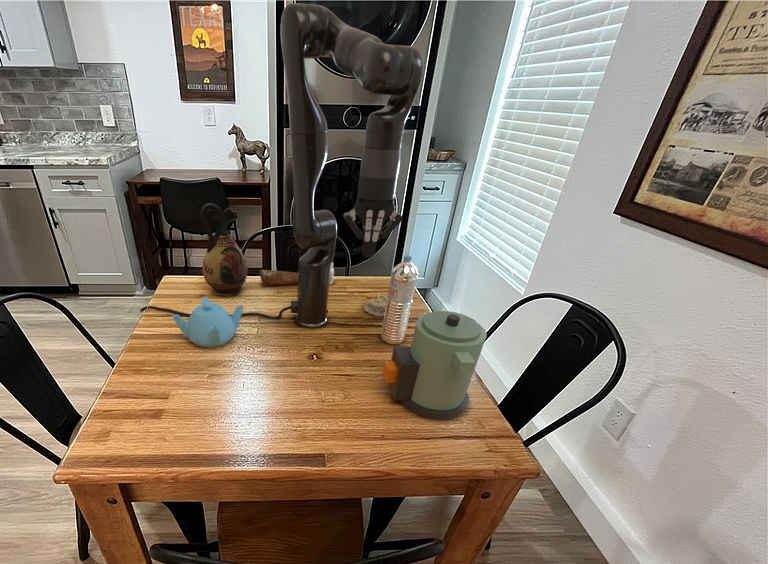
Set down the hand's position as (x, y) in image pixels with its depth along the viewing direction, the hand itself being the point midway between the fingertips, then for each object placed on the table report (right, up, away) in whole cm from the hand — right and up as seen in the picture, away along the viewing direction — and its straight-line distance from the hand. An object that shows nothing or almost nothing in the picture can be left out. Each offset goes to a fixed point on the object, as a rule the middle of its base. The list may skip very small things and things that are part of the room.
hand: (367, 256), depth 87 cm
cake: (+12, -7, +42) cm, 44 cm away
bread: (-19, +5, +58) cm, 61 cm away
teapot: (-40, -17, +26) cm, 51 cm away
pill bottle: (-3, +6, +59) cm, 60 cm away
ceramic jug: (-41, +1, +52) cm, 66 cm away
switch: (+5, -28, +1) cm, 28 cm away
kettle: (+15, -32, +5) cm, 36 cm away
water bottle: (+13, -18, +26) cm, 34 cm away
